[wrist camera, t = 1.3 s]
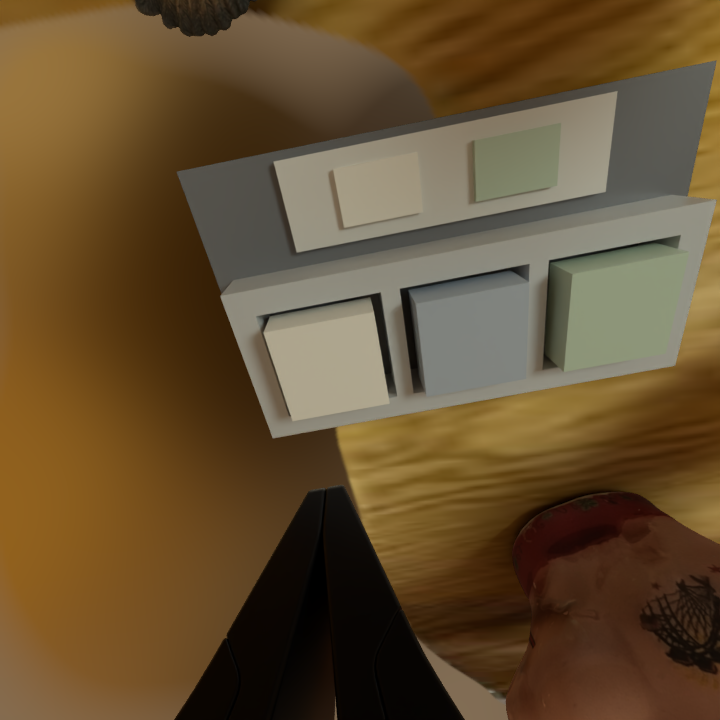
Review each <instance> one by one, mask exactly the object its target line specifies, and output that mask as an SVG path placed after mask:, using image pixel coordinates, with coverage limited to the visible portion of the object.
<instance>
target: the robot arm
mask: <svg viewBox="0 0 720 720" xmlns="http://www.w3.org/2000/svg"><path fill="white" fill-rule="evenodd" d="M335 696H336V708H337V720H465V719H464V718H463V716H462V715H461V713H460V712H459V710H458V708H457V707H456V705H455V704H454V702H453V700H452V699H451V697H450V696H449V694H448V692H447V691H446V689H445V688H444V686H443V684H442V683H441V681H440V679H439V678H438V676H437V674H436V673H435V671H434V669H433V667H432V666H431V664H430V662H429V661H428V659H427V657H426V656H425V654H424V652H423V650H422V648H421V646H420V644H419V642H418V640H417V638H416V636H415V634H414V632H413V630H412V628H411V626H410V624H409V622H408V620H407V617H406V615H405V613H404V611H403V610H402V608H401V605H400V603H399V601H398V599H397V597H396V595H395V592H394V590H393V588H392V586H391V584H390V582H389V580H388V578H387V575H386V573H385V571H384V569H383V567H382V565H381V563H380V561H379V558H378V556H377V554H376V552H375V550H374V548H373V546H372V544H371V542H370V539H369V537H368V535H367V533H366V531H365V529H364V527H363V525H362V522H361V520H360V518H359V516H358V514H357V512H356V510H355V508H354V505H353V503H352V501H351V499H350V497H349V495H348V493H347V491H346V489H345V487H344V486H343V485H338V486H332V487H328V489H325V488H321V489H315V490H310V491H309V492H308V493H307V495H306V497H305V498H304V500H303V502H302V504H301V505H300V507H299V509H298V511H297V512H296V514H295V516H294V518H293V520H292V521H291V523H290V525H289V527H288V528H287V530H286V532H285V533H284V535H283V537H282V539H281V540H280V542H279V544H278V546H277V547H276V549H275V551H274V553H273V554H272V556H271V558H270V560H269V561H268V563H267V565H266V566H265V568H264V570H263V572H262V573H261V575H260V577H259V579H258V580H257V582H256V584H255V586H254V587H253V589H252V591H251V593H250V595H249V596H248V598H247V600H246V601H245V603H244V605H243V607H242V609H241V610H240V612H239V614H238V615H237V617H236V619H235V621H234V622H233V624H232V626H231V628H230V629H229V631H228V633H227V638H225V639H224V640H223V641H222V643H221V645H220V647H219V648H218V650H217V652H216V654H215V655H214V657H213V659H212V660H211V662H210V664H209V665H208V667H207V669H206V670H205V672H204V674H203V676H202V677H201V679H200V680H199V682H198V684H197V685H196V687H195V689H194V690H193V692H192V693H191V695H190V696H189V698H188V699H187V701H186V703H185V704H184V706H183V707H182V709H181V710H180V712H179V713H178V715H177V716H176V718H175V719H174V720H334V715H335Z"/></svg>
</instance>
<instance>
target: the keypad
mask: <svg viewBox="0 0 720 720" xmlns="http://www.w3.org/2000/svg"><path fill="white" fill-rule="evenodd" d="M715 66H716V61H712V62H707V63H702V64H698V65H693V66H688V67H683V68H678V69H673V70H668V71H664V72H659V73H654V74H649V75H644V76H639V77H634V78H630V79H625V80H620V81H615V82H610V83H605V84H600V85H596V86H591V87H586V88H581V89H576V90H571V91H567V92H562V93H557V94H552V95H547V96H542V97H537V98H533V99H528V100H523V101H518V102H513V103H508V104H503V105H499V106H494V107H489V108H484V109H479V110H474V111H469V112H465V113H460V114H455V115H450V116H445V117H440V118H435V119H431V120H426V121H422V122H416V123H411V124H406V125H402V126H397V127H392V128H387V129H382V130H377V131H373V132H368V133H363V134H358V135H353V136H348V137H343V138H339V139H334V140H329V141H324V142H319V143H314V144H309V145H305V146H300V147H295V148H290V149H285V150H280V151H275V152H271V153H266V154H261V155H256V156H251V157H246V158H242V159H237V160H232V161H227V162H222V163H217V164H212V165H207V166H203V167H198V168H193V169H188V170H183V171H178V172H177V174H178V177H179V180H180V182H181V185H182V188H183V190H184V193H185V196H186V199H187V201H188V204H189V207H190V209H191V212H192V215H193V218H194V220H195V223H196V226H197V229H198V231H199V234H200V237H201V239H202V242H203V245H204V247H205V250H206V253H207V256H208V258H209V261H210V264H211V266H212V269H213V272H214V275H215V277H216V280H217V283H218V286H219V288H220V291H221V296H220V297H221V300H222V302H223V305H224V308H225V310H226V313H227V316H228V318H229V321H230V324H231V327H232V329H233V332H234V335H235V338H236V340H237V343H238V346H239V348H240V351H241V353H242V356H243V359H244V362H245V364H246V367H247V370H248V373H249V375H250V378H251V381H252V383H253V386H254V389H255V391H256V394H257V397H258V399H259V402H260V405H261V407H262V410H263V413H264V416H265V418H266V421H267V424H268V426H269V429H270V432H271V434H272V437H273V438H276V437H282V436H288V435H293V434H299V433H304V432H310V431H315V430H321V429H327V428H332V427H338V426H343V425H349V424H354V423H360V422H365V421H371V420H377V419H382V418H388V417H393V416H399V415H404V414H410V413H415V412H421V411H426V410H432V409H438V408H443V407H449V406H454V405H460V404H465V403H471V402H476V401H482V400H487V399H493V398H499V397H504V396H510V395H515V394H521V393H526V392H532V391H537V390H543V389H548V388H554V387H560V386H565V385H571V384H576V383H582V382H587V381H593V380H598V379H604V378H609V377H615V376H621V375H626V374H632V373H637V372H643V371H648V370H654V369H659V368H665V367H670V366H675V364H676V360H677V356H678V352H679V348H680V344H681V340H682V336H683V332H684V328H685V324H686V320H687V316H688V312H689V308H690V304H691V300H692V296H693V292H694V288H695V284H696V280H697V276H698V272H699V268H700V264H701V260H702V256H703V252H704V248H705V244H706V240H707V236H708V232H709V228H710V224H711V220H712V216H713V212H714V208H715V204H716V200H714V199H705V198H696V197H687V196H688V191H689V186H690V182H691V177H692V172H693V168H694V163H695V158H696V154H697V149H698V145H699V140H700V135H701V131H702V126H703V121H704V117H705V112H706V107H707V103H708V98H709V93H710V89H711V84H712V79H713V75H714V70H715ZM651 243H658V244H662V245H665V246H669V247H673V248H676V249H680V250H684V251H688V252H689V256H688V260H687V264H686V269H685V273H684V277H683V281H682V286H681V290H680V294H679V299H678V303H677V307H676V312H675V316H674V320H673V324H672V329H671V333H670V337H669V342H668V346H667V350H666V354H661V355H655V356H650V357H644V358H639V359H633V360H628V361H622V362H617V363H611V364H606V365H600V366H595V367H589V368H584V369H578V370H572V371H567V372H563V371H562V370H561V369H560V368H559V367H558V366H557V365H556V364H555V363H554V362H553V361H552V360H550V359H549V358H548V357H547V356H546V355H545V354H544V350H545V333H546V317H547V300H548V283H549V267H550V263H551V262H557V261H562V260H567V259H572V258H578V257H583V256H588V255H593V254H598V253H604V252H609V251H614V250H619V249H625V248H630V247H635V246H640V245H645V244H651ZM510 270H511V271H513V272H514V273H516V274H517V275H519V276H520V277H522V278H523V279H525V280H527V281H528V282H529V309H528V338H527V366H526V379H523V380H517V381H512V382H506V383H501V384H495V385H490V386H484V387H479V388H473V389H468V390H462V391H457V392H451V393H446V394H440V395H435V396H429V397H426V394H425V391H424V389H423V386H422V384H421V381H420V378H419V374H418V365H417V357H416V349H415V341H414V333H413V325H412V317H411V308H410V300H409V292H408V290H410V289H415V288H421V287H426V286H431V285H436V284H442V283H447V282H452V281H457V280H463V279H468V278H473V277H478V276H483V275H489V274H494V273H499V272H504V271H510ZM368 297H370V298H371V302H372V306H373V310H374V315H375V321H376V327H377V333H378V338H379V344H380V350H381V356H382V362H383V367H384V373H385V379H386V385H387V391H388V396H389V402H390V404H385V405H380V406H374V407H369V408H363V409H358V410H352V411H347V412H341V413H336V414H330V415H325V416H319V417H314V418H308V419H303V420H297V421H292V418H291V415H290V412H289V409H288V406H287V403H286V400H285V397H284V394H283V391H282V388H281V385H280V381H279V378H278V375H277V372H276V369H275V366H274V363H273V360H272V357H271V354H270V351H269V348H268V345H267V342H266V339H265V336H264V330H265V328H266V325H267V323H268V320H269V318H270V316H274V315H280V314H285V313H290V312H295V311H301V310H306V309H311V308H316V307H321V306H327V305H332V304H337V303H342V302H348V301H353V300H358V299H363V298H368Z"/></svg>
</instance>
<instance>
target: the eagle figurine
mask: <svg viewBox="0 0 720 720" xmlns="http://www.w3.org/2000/svg"><path fill="white" fill-rule="evenodd" d="M250 1H254V2H255V1H257V0H135V2H136V7H137V9H138V11H139V12H141V13H142V14H144V15H149V16H155V15H158V14H161V16H162V20H163V24H164V25H165V26H166V27H167V28H169V29H172V28H176V27H179V28H180V30H181V32H182V33H183V34H185V35H187V36H189V37H190V36H203V35H204V34H205V33H206V34H208V35H211V36H213V35H215V34H217V32H218V31H219V30H227V29H228V28H229V27H230V26H231V21H232V19H236V18H238V17H239V16H240V15H242V14H244V13H246V12H247V10H248V7H249V4H250Z"/></svg>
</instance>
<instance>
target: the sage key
mask: <svg viewBox="0 0 720 720" xmlns="http://www.w3.org/2000/svg"><path fill="white" fill-rule="evenodd" d="M688 256H689V252H688V251H684V250H680V249H676V248H673V247H669V246H665V245H662V244H658V243H651V244H645V245H640V246H635V247H630V248H625V249H619V250H614V251H609V252H604V253H598V254H593V255H588V256H583V257H578V258H572V259H567V260H562V261H557V262H551V263H550V267H549V283H548V300H547V317H546V333H545V350H544V354H545V355H546V356H547V357H548V358H549V359H550V360H552V361H553V362H554V363H555V364H556V365H557V366H558V367H559V368H560V369H561V370H562V371H563V372H567V371H572V370H578V369H584V368H589V367H595V366H600V365H606V364H611V363H617V362H622V361H628V360H633V359H639V358H644V357H650V356H655V355H661V354H666V350H667V346H668V342H669V337H670V333H671V329H672V324H673V320H674V316H675V312H676V307H677V303H678V299H679V294H680V290H681V286H682V281H683V277H684V273H685V269H686V264H687V260H688Z"/></svg>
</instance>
